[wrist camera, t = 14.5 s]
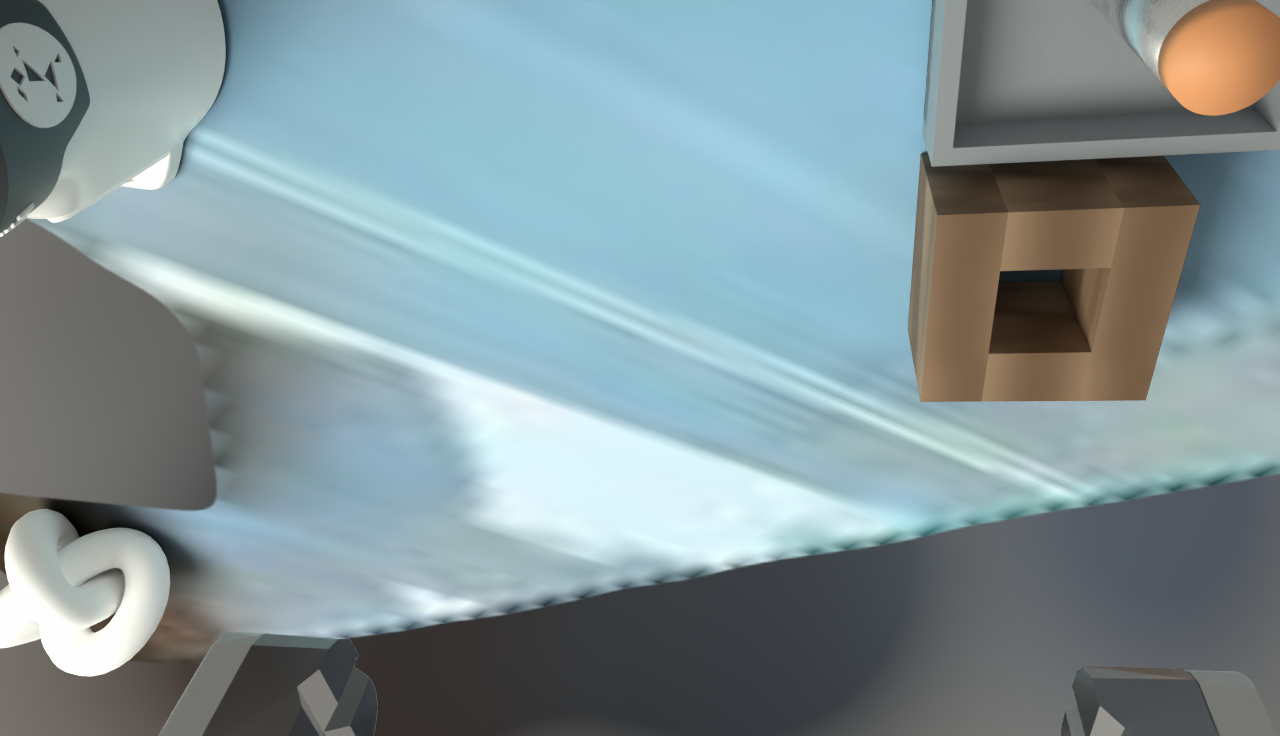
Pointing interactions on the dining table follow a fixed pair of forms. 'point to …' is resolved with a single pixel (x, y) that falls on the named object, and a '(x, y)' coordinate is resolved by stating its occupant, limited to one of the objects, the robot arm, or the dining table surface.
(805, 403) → the dining table surface
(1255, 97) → the pin
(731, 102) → the dining table surface
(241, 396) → the dining table surface
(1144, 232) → the hitch block
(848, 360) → the dining table surface
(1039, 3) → the tray
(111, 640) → the white knot
